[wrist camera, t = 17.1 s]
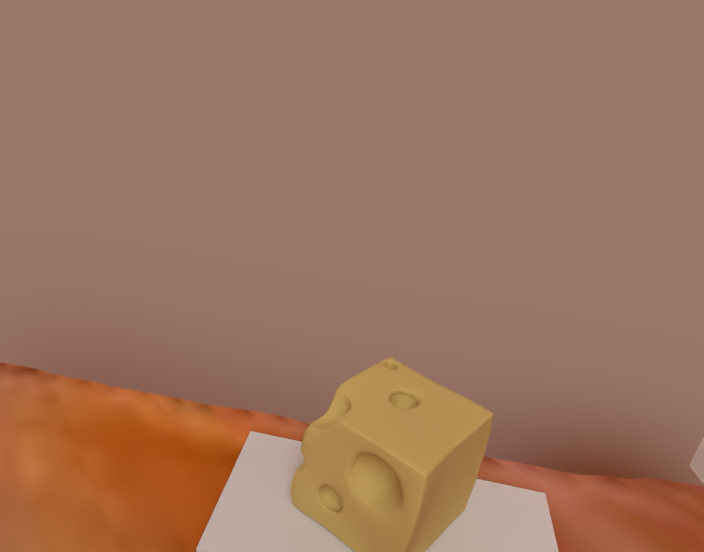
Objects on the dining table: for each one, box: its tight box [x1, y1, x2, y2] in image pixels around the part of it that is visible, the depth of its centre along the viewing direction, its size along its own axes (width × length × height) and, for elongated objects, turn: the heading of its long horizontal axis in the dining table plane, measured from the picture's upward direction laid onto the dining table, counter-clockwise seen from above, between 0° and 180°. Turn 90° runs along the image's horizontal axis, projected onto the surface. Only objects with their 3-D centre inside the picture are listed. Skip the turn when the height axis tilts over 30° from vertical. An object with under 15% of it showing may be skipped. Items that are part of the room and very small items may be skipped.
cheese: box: [291, 357, 493, 552], centre depth 45 cm, size 10×11×10 cm
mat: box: [196, 431, 559, 552], centre depth 46 cm, size 26×13×1 cm, turn 82°
